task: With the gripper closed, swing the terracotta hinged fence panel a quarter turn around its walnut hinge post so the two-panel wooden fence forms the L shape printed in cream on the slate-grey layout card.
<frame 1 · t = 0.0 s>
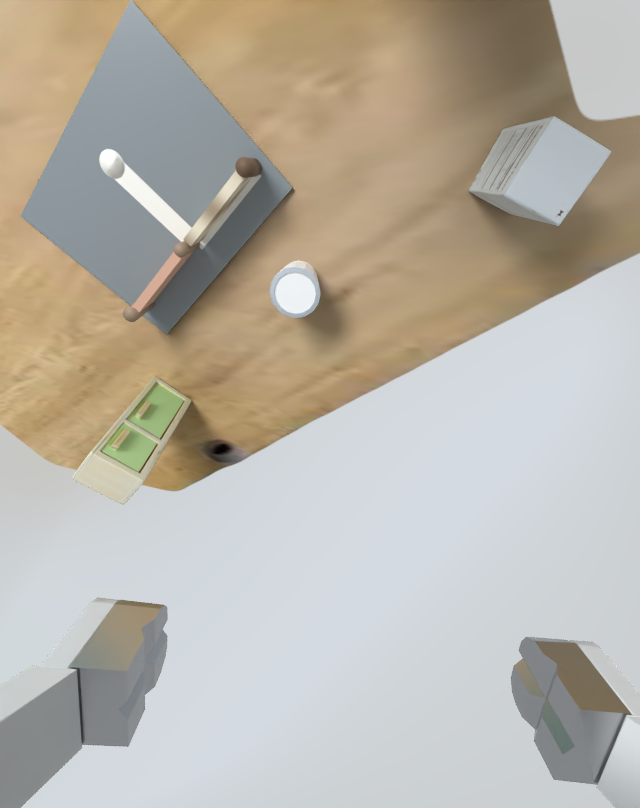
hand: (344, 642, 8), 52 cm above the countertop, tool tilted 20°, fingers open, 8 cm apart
supplement box: (506, 173, 47), on the countertop
fixed fence panel: (195, 242, 52), resting on layout card
toy refrigerator: (167, 397, 67), on the countertop
hinged fence panel: (161, 279, 52), point 4 cm above the countertop, hinge at 0.0°
white cup: (299, 279, 55), on the countertop
layout card: (153, 202, 50), on the countertop
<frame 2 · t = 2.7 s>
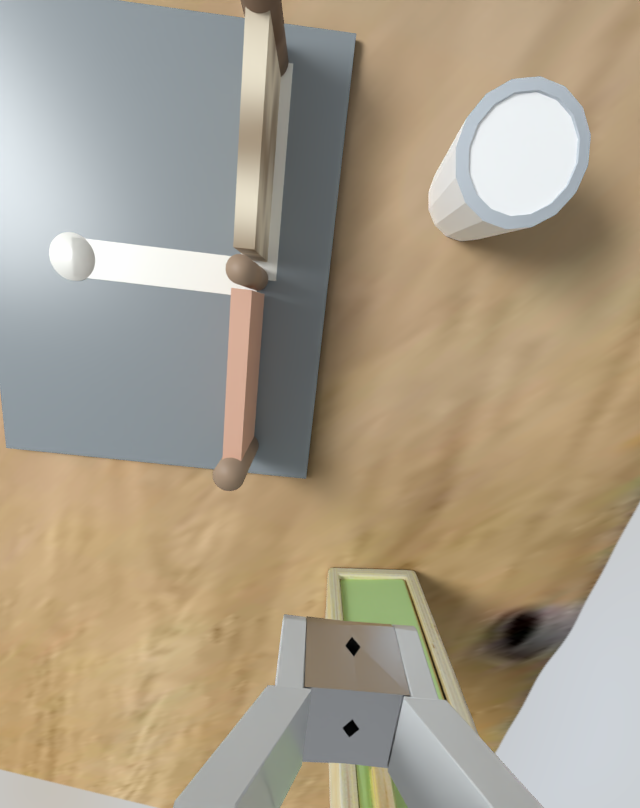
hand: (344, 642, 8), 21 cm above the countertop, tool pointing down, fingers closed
fixed fence panel: (258, 279, 26), resting on layout card
toy refrigerator: (370, 592, 33), on the countertop
hinged fence panel: (243, 373, 24), point 4 cm above the countertop, hinge at 0.0°
white cup: (467, 198, 25), on the countertop
layout card: (161, 268, 26), on the countertop
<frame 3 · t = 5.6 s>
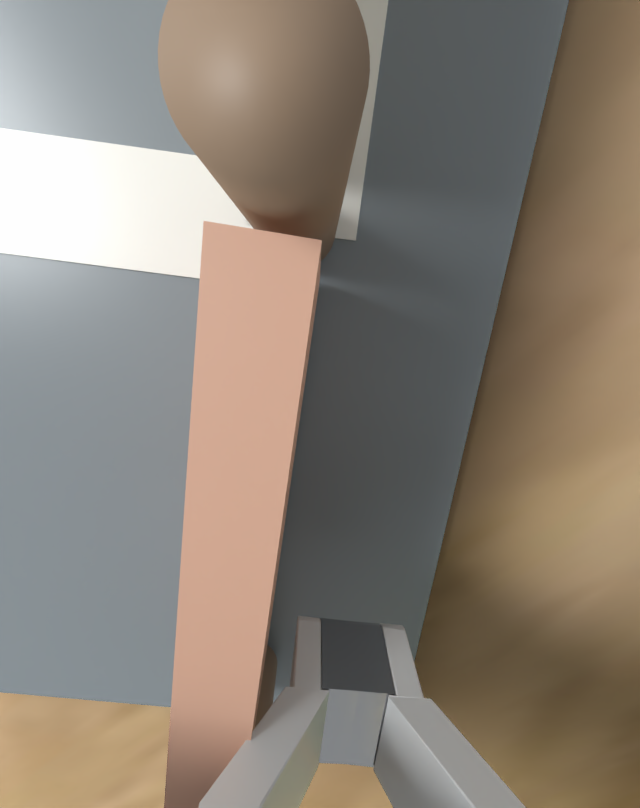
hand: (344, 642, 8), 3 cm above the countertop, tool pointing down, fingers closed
hinged fence panel: (248, 550, 7), point 4 cm above the countertop, hinge at 1.7°, touching gripper
layout card: (14, 199, 9), on the countertop
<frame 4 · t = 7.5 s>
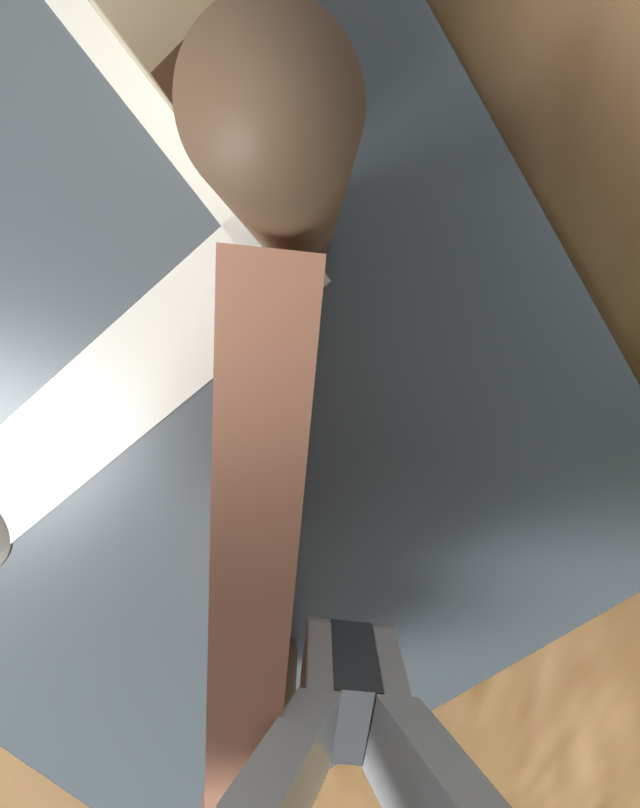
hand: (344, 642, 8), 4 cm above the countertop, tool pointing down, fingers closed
fixed fence panel: (299, 240, 9), resting on layout card
hinged fence panel: (267, 545, 7), point 4 cm above the countertop, hinge at 43.7°, touching gripper
layout card: (107, 404, 10), on the countertop
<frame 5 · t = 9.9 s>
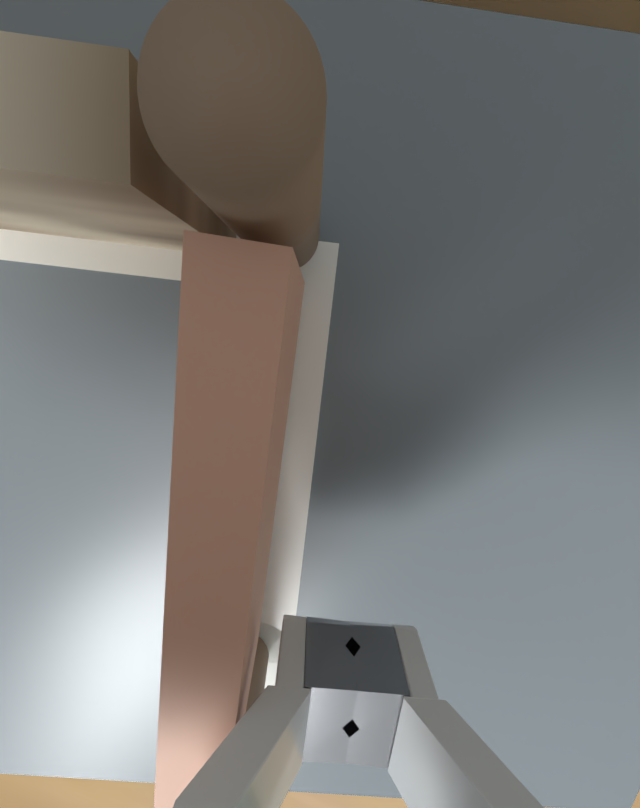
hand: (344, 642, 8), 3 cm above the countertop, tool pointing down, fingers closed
fixed fence panel: (287, 241, 9), resting on layout card
hinged fence panel: (235, 541, 7), point 4 cm above the countertop, hinge at 92.0°
layout card: (267, 487, 11), on the countertop
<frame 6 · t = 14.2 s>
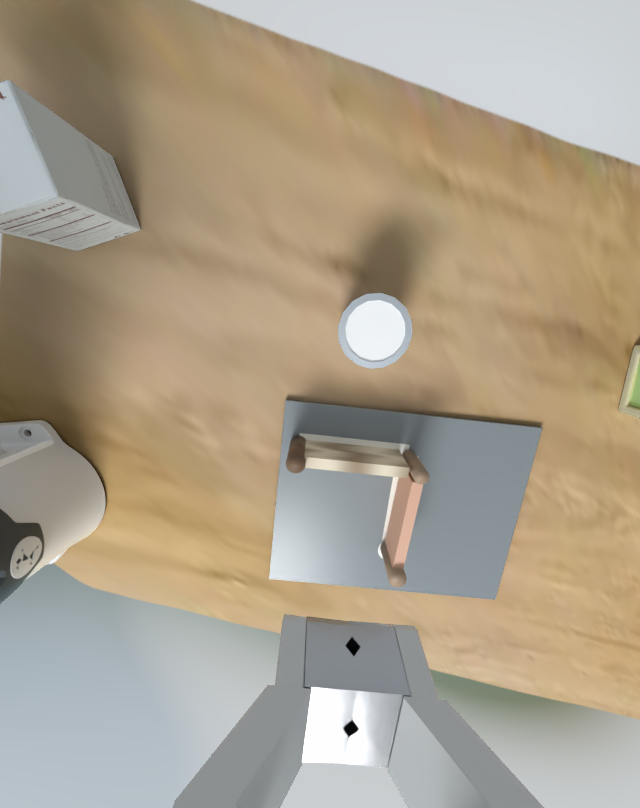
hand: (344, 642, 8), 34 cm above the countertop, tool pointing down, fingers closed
supplement box: (96, 206, 37), on the countertop
fixed fence panel: (406, 453, 44), resting on layout card
hinged fence panel: (403, 516, 42), point 4 cm above the countertop, hinge at 92.0°
white cup: (365, 328, 40), on the countertop
layout card: (397, 505, 45), on the countertop
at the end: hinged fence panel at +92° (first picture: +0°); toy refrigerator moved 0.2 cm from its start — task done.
